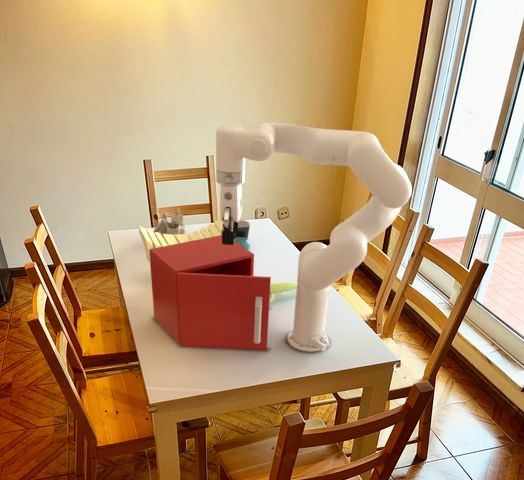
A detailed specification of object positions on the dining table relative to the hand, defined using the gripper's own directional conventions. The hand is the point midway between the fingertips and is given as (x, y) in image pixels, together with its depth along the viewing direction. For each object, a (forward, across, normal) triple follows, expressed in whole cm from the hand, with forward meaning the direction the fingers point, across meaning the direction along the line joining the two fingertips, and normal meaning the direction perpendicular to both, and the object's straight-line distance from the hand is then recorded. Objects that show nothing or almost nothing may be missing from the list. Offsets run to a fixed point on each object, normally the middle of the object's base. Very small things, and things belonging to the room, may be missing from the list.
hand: (230, 237), depth 155 cm
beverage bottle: (+32, +39, +1) cm, 50 cm away
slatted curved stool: (+32, +40, +22) cm, 56 cm away
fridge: (+32, +8, +10) cm, 34 cm away
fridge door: (+32, -10, +1) cm, 34 cm away
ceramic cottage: (+32, +67, +34) cm, 82 cm away
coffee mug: (+32, +73, +6) cm, 80 cm away
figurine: (+32, +27, -16) cm, 45 cm away
